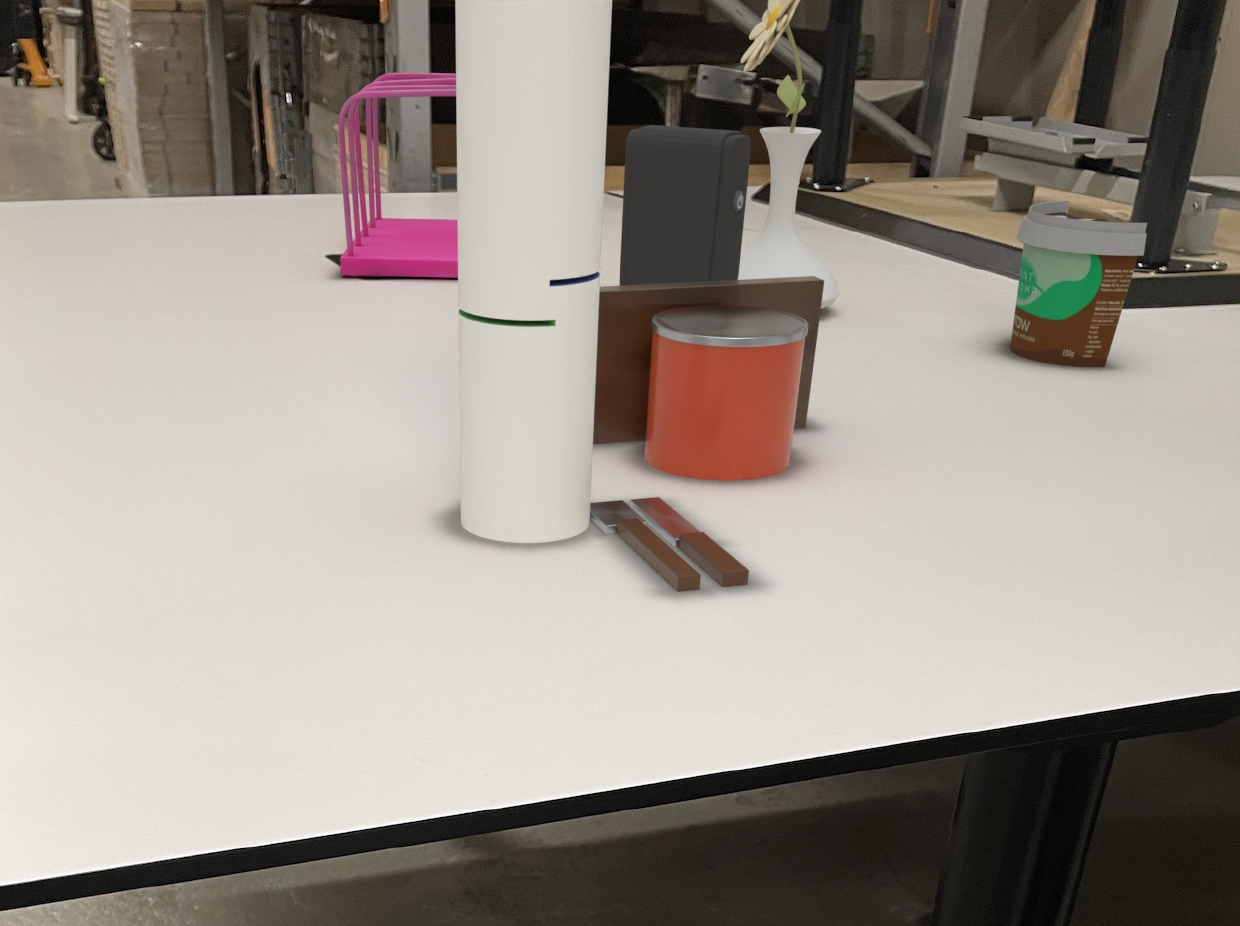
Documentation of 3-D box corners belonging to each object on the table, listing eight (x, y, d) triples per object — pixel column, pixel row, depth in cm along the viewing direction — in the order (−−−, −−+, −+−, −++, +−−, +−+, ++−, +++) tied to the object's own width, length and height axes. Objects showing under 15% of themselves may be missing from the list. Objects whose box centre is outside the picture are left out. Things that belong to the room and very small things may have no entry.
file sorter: (340, 279, 135) (329, 85, 126) (372, 236, 156) (364, 67, 146) (521, 282, 135) (523, 88, 125) (529, 239, 155) (532, 69, 146)
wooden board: (796, 423, 95) (814, 275, 90) (806, 428, 94) (825, 280, 88) (570, 439, 91) (575, 287, 86) (578, 446, 90) (583, 292, 85)
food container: (967, 339, 116) (993, 201, 110) (1036, 336, 117) (1066, 199, 111) (1040, 375, 106) (1072, 225, 100) (1115, 371, 107) (1151, 224, 101)
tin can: (811, 451, 89) (829, 315, 85) (760, 490, 83) (777, 344, 78) (677, 431, 93) (687, 299, 88) (618, 467, 86) (626, 326, 82)
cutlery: (751, 585, 71) (753, 569, 70) (666, 593, 70) (667, 578, 69) (658, 505, 81) (659, 491, 80) (582, 512, 80) (582, 497, 79)
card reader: (738, 349, 112) (759, 130, 104) (715, 359, 110) (735, 135, 101) (637, 334, 116) (649, 123, 108) (613, 343, 114) (623, 127, 105)
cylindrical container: (614, 530, 77) (644, -33, 62) (500, 552, 74) (504, -33, 59) (546, 494, 82) (560, -34, 67) (438, 513, 79) (427, -35, 64)
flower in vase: (721, 295, 130) (750, -39, 115) (845, 304, 127) (892, -38, 112) (688, 323, 120) (716, -38, 105) (822, 334, 117) (870, -37, 102)
